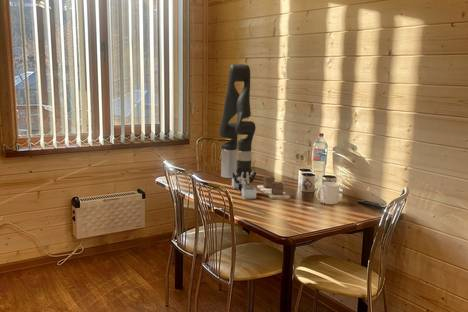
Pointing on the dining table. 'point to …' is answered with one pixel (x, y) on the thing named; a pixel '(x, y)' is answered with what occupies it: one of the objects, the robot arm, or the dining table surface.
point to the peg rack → (273, 188)
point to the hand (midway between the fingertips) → (243, 190)
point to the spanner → (245, 189)
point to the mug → (328, 193)
